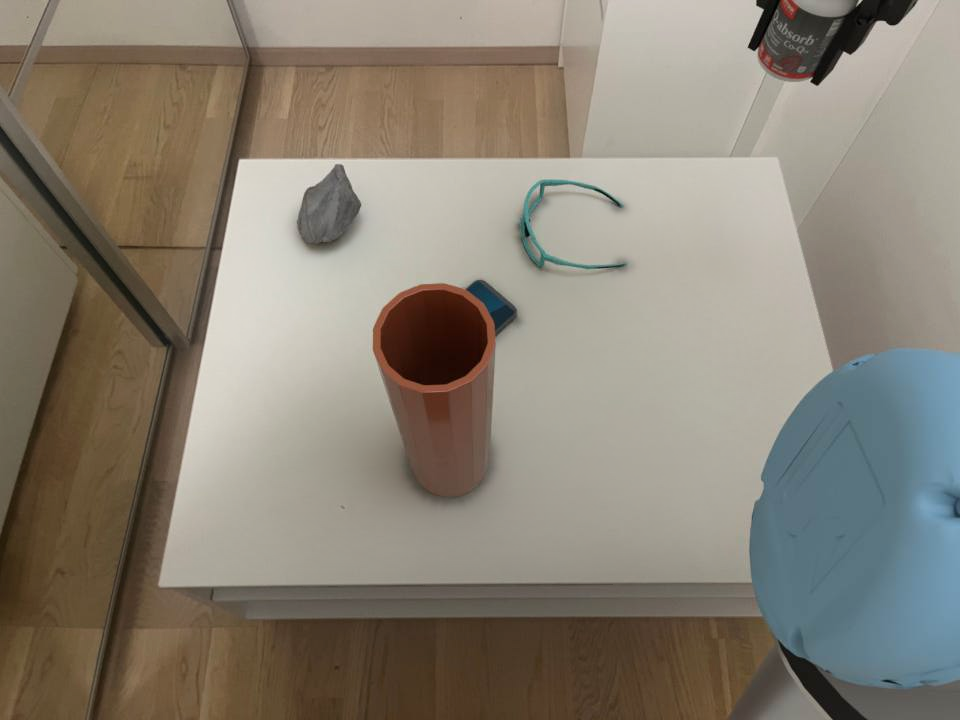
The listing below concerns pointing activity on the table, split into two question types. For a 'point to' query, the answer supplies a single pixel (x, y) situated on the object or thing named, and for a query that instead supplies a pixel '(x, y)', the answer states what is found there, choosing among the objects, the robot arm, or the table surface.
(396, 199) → the table surface
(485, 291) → the smartphone
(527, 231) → the sunglasses
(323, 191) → the grey rock
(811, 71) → the pill bottle
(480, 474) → the tall brown vase
